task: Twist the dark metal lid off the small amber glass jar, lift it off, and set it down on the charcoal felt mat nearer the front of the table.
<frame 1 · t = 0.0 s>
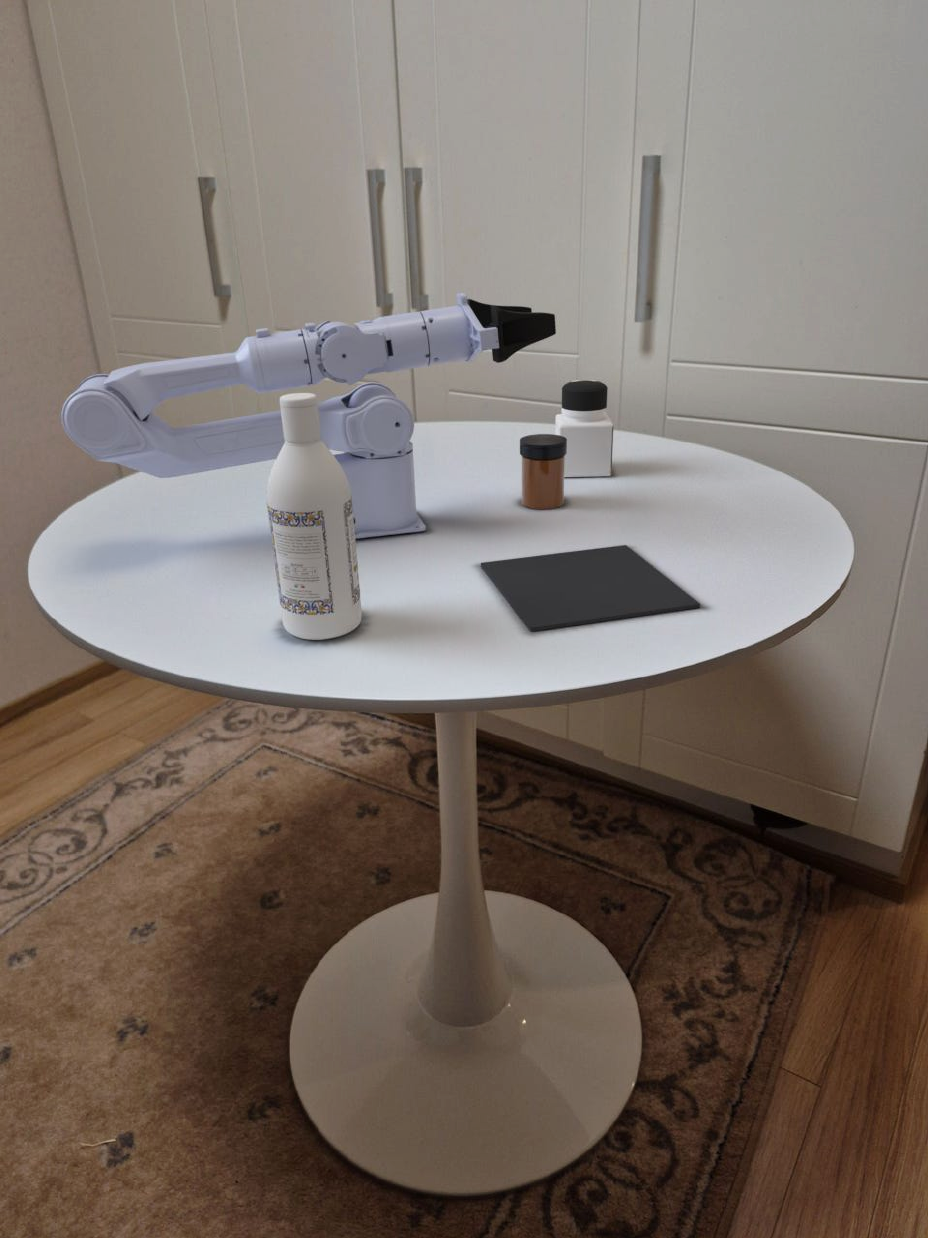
hand: (542, 320, 95), 22 cm above the table, tool horizontal, fingers open, 7 cm apart
jar lid: (543, 442, 103), point 7 cm above the table, screwed on, not yet turned
mat: (583, 585, 82), on the table
bath foam: (323, 626, 76), on the table
medicine bottle: (582, 471, 119), on the table
jar: (542, 502, 106), on the table
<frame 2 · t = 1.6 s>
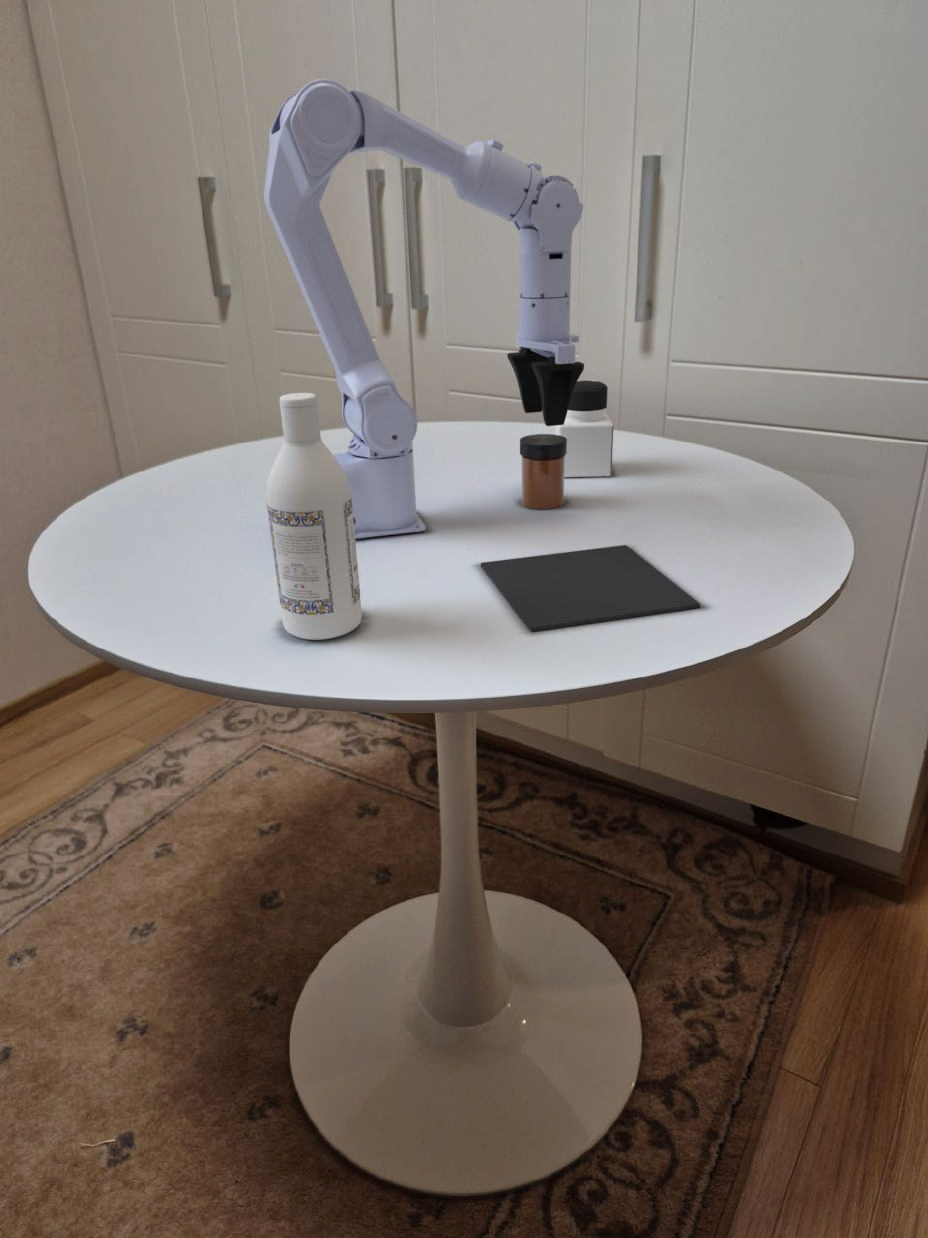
hand: (543, 418, 102), 10 cm above the table, tool pointing down, fingers open, 7 cm apart
nothing on the table moved.
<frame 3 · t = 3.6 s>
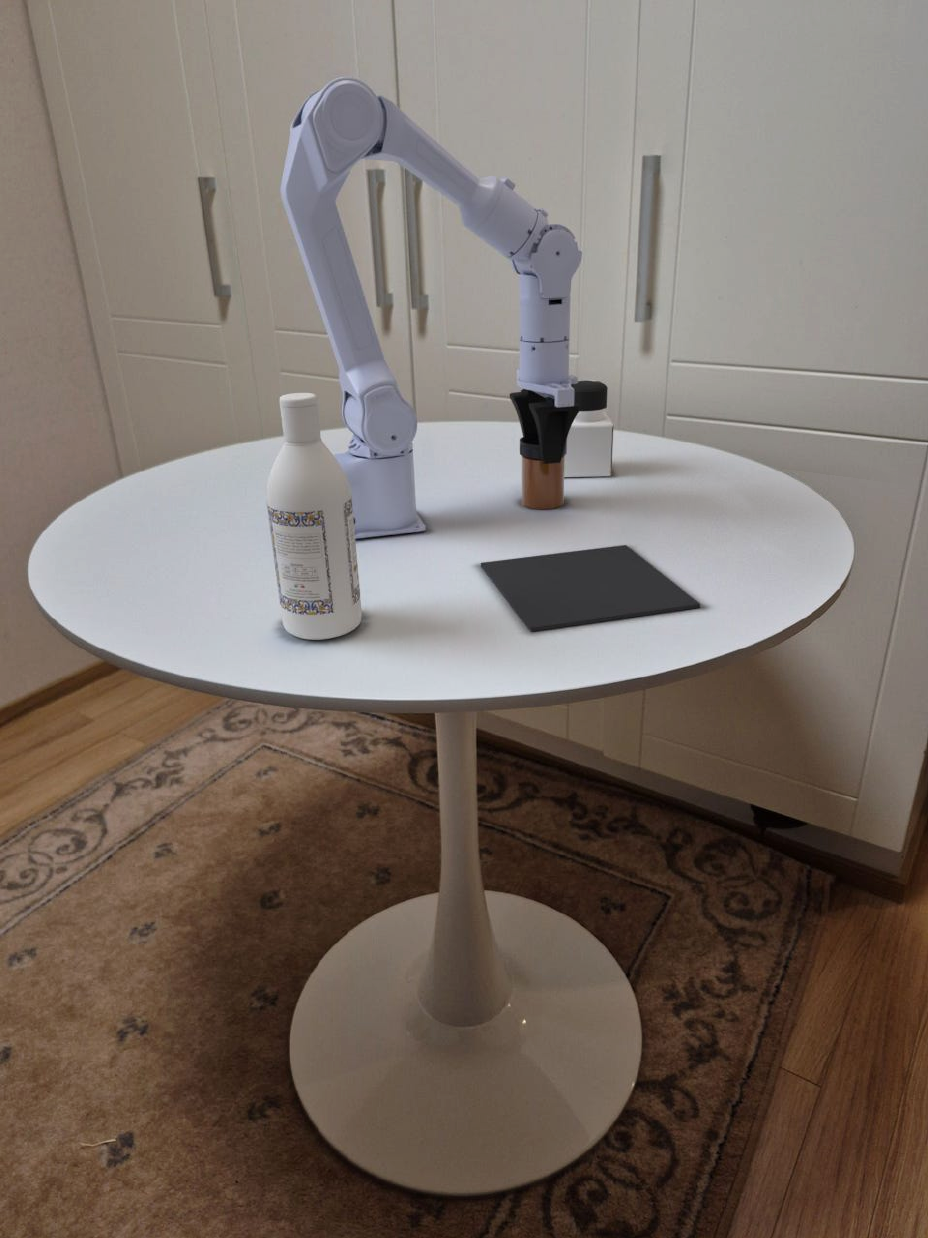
hand: (543, 456, 104), 6 cm above the table, tool pointing down, fingers closed on jar lid, 5 cm apart
jar lid: (543, 442, 103), point 7 cm above the table, screwed on, not yet turned, touching gripper
everything else where it was.
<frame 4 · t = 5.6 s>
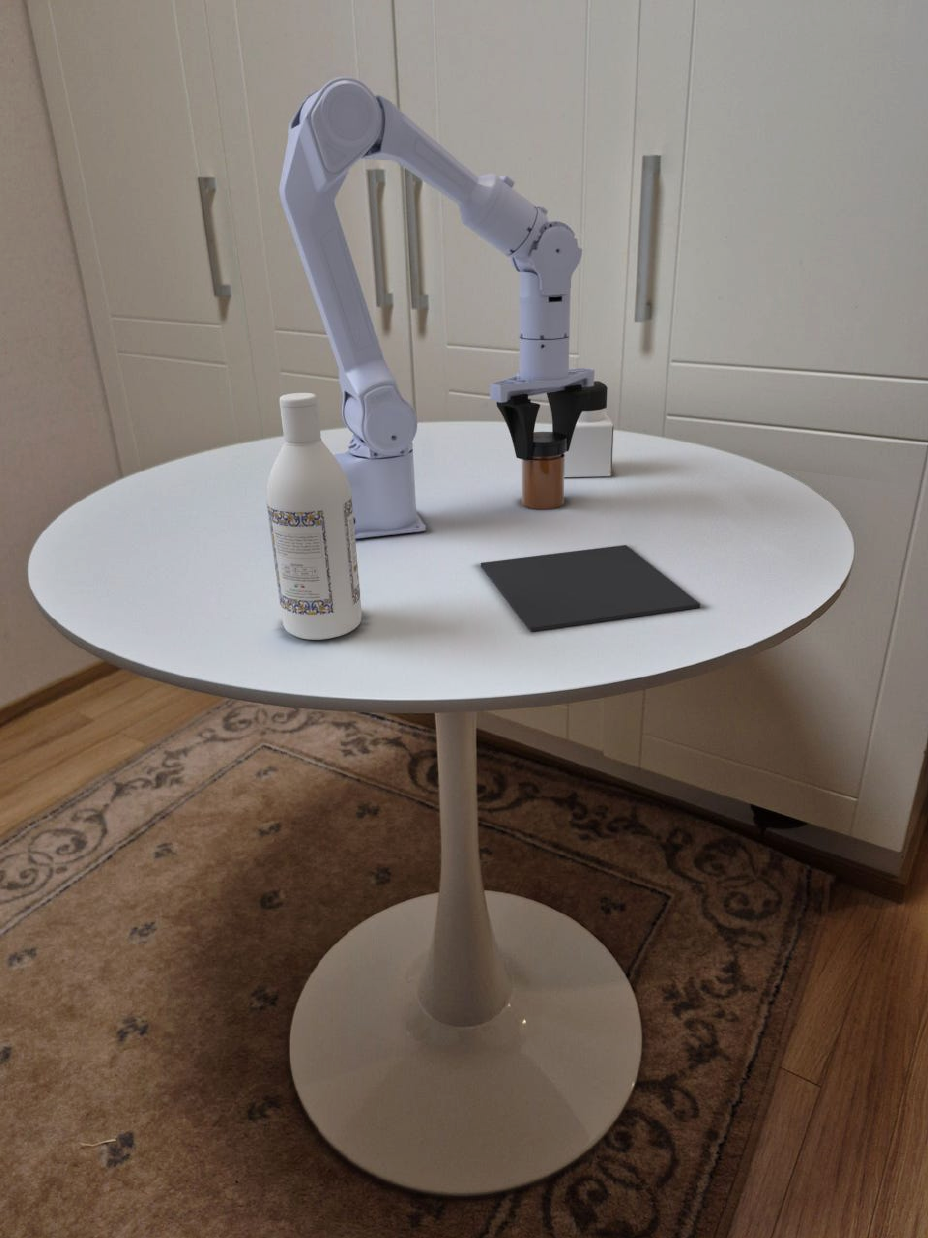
hand: (543, 454, 104), 6 cm above the table, tool pointing down, fingers closed on jar lid, 5 cm apart
jar lid: (543, 440, 103), point 8 cm above the table, off its thread, touching gripper
everything else where it was.
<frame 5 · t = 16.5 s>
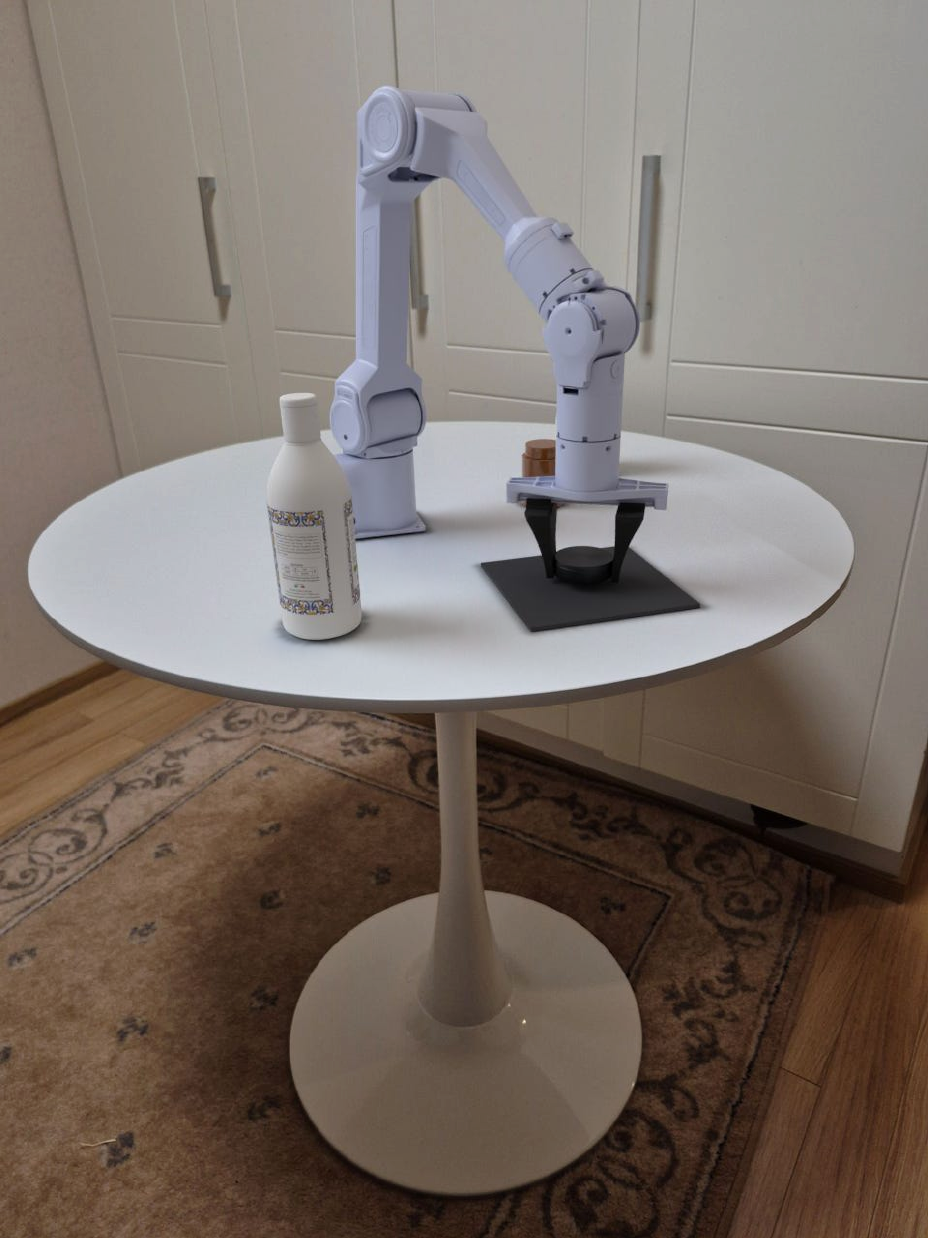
hand: (583, 576, 82), 1 cm above the table, tool pointing down, fingers closed on jar lid, 5 cm apart
jar lid: (583, 560, 81), point 3 cm above the table, off its thread, touching gripper
everything else where it was.
when the fingers open (2 cm above the table, at t = 21.4 s): jar lid drops 2 cm, resting on mat.
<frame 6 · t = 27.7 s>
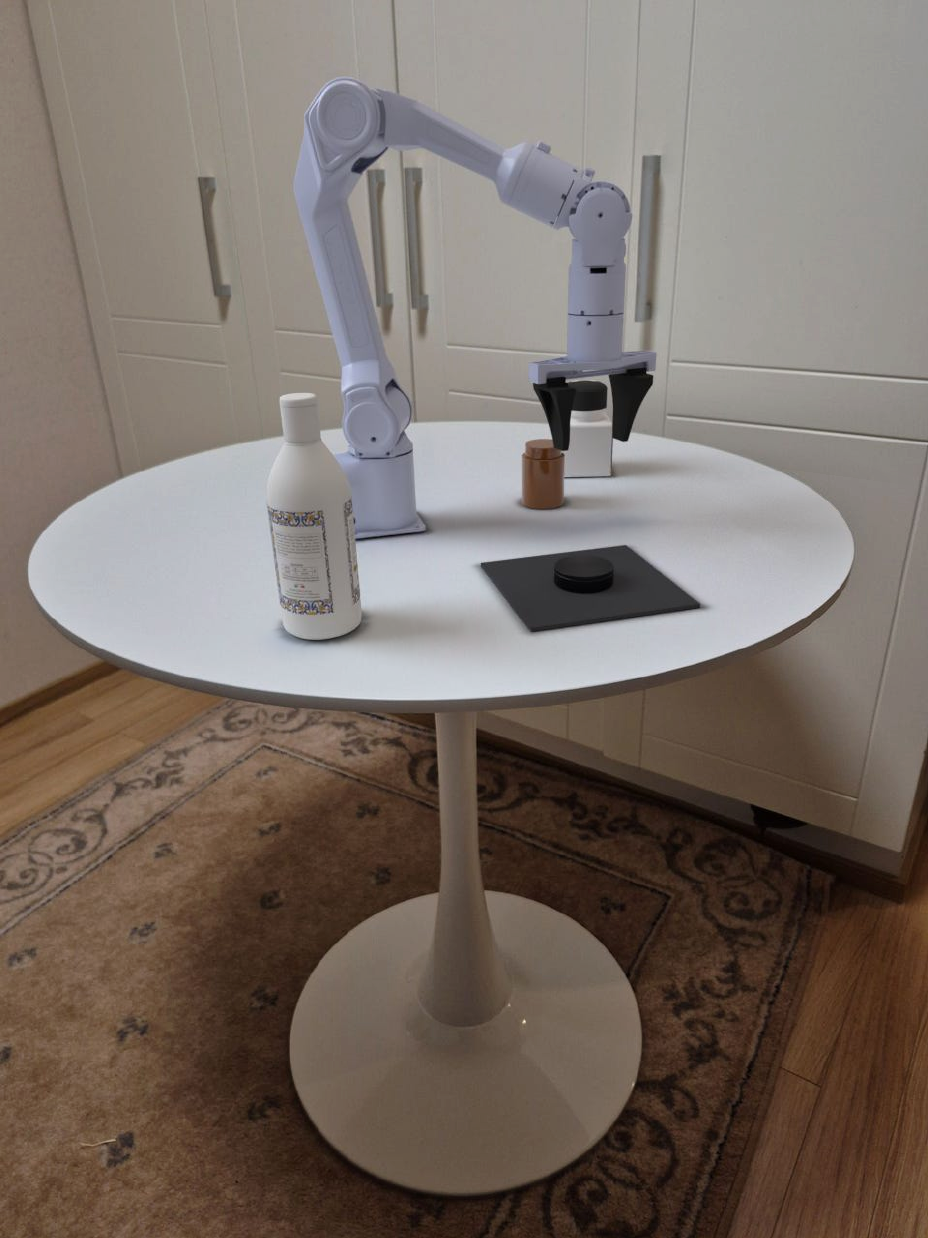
hand: (591, 444, 94), 9 cm above the table, tool pointing down, fingers open, 7 cm apart
jar lid: (583, 569, 82), point 2 cm above the table, off its thread, touching mat
everything else where it was.
at the end: jar lid inside the target area on the mat (0.0 cm from its centre), point 1.7 cm above the mat's base; the gripper is holding nothing; jar tilted 0° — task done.
